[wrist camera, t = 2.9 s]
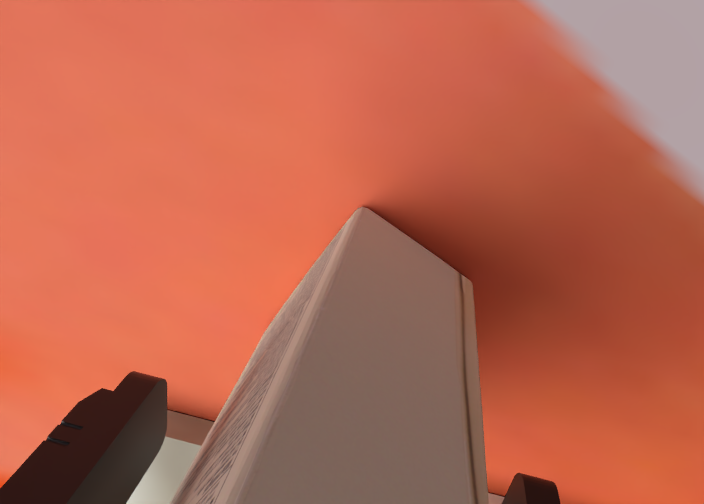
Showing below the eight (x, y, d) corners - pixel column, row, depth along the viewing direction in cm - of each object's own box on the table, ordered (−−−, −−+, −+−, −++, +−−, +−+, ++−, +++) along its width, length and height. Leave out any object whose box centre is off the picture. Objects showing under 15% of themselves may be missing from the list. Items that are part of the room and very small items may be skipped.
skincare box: (364, 395, 18) (246, 956, 8) (258, 328, 18) (-25, 837, 7) (480, 275, 16) (547, 914, 5) (358, 191, 15) (132, 706, 4)
